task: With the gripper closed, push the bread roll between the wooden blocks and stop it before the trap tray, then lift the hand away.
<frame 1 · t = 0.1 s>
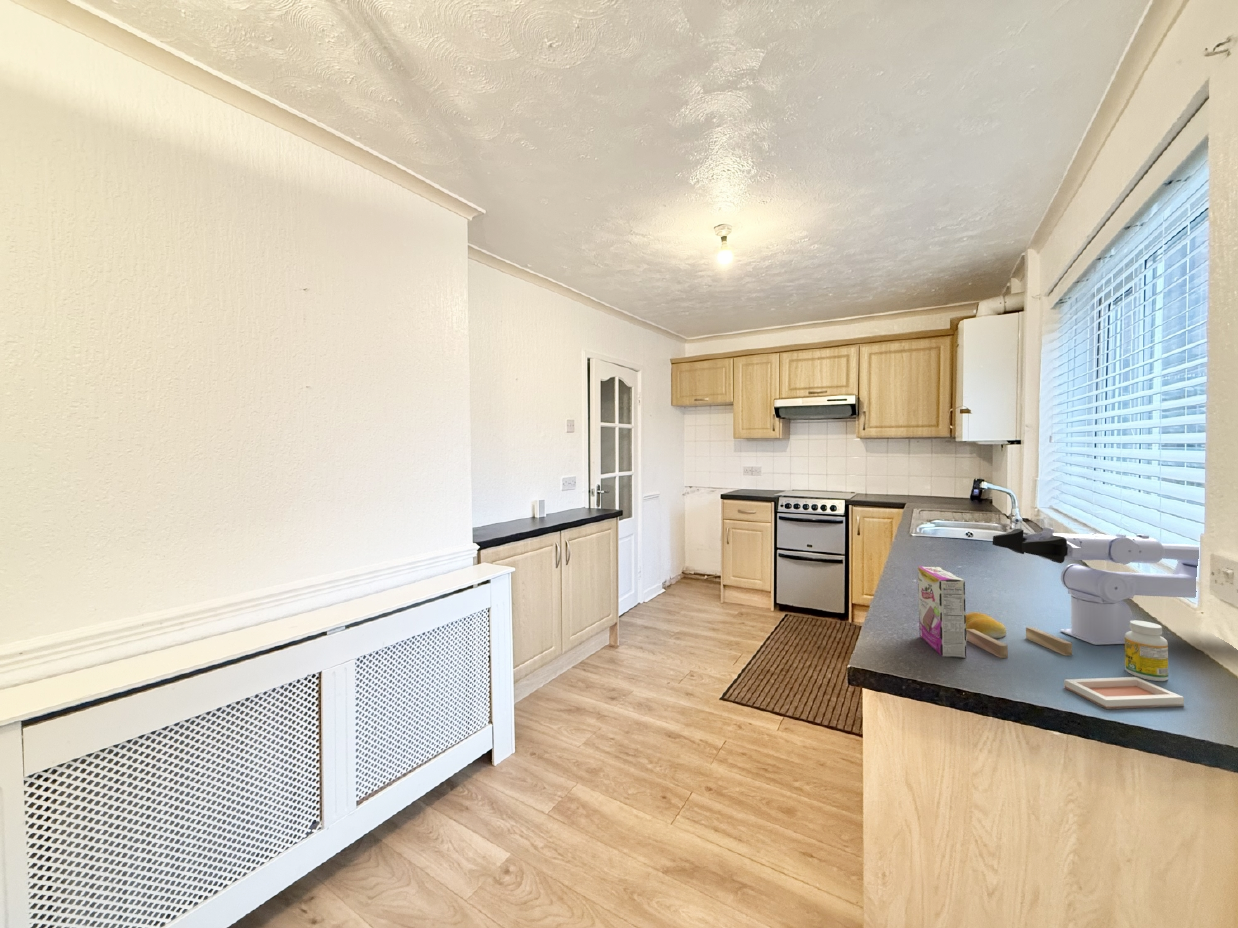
hand: (1008, 543, 104), 22 cm above the counter, tool horizontal, fingers open, 7 cm apart
supplement bottle: (1146, 675, 87), on the counter
trap tray: (1121, 696, 80), on the counter
candy bar box: (941, 648, 102), on the counter
bread roll: (981, 632, 110), on the counter
wooden blocks: (1017, 647, 100), on the counter
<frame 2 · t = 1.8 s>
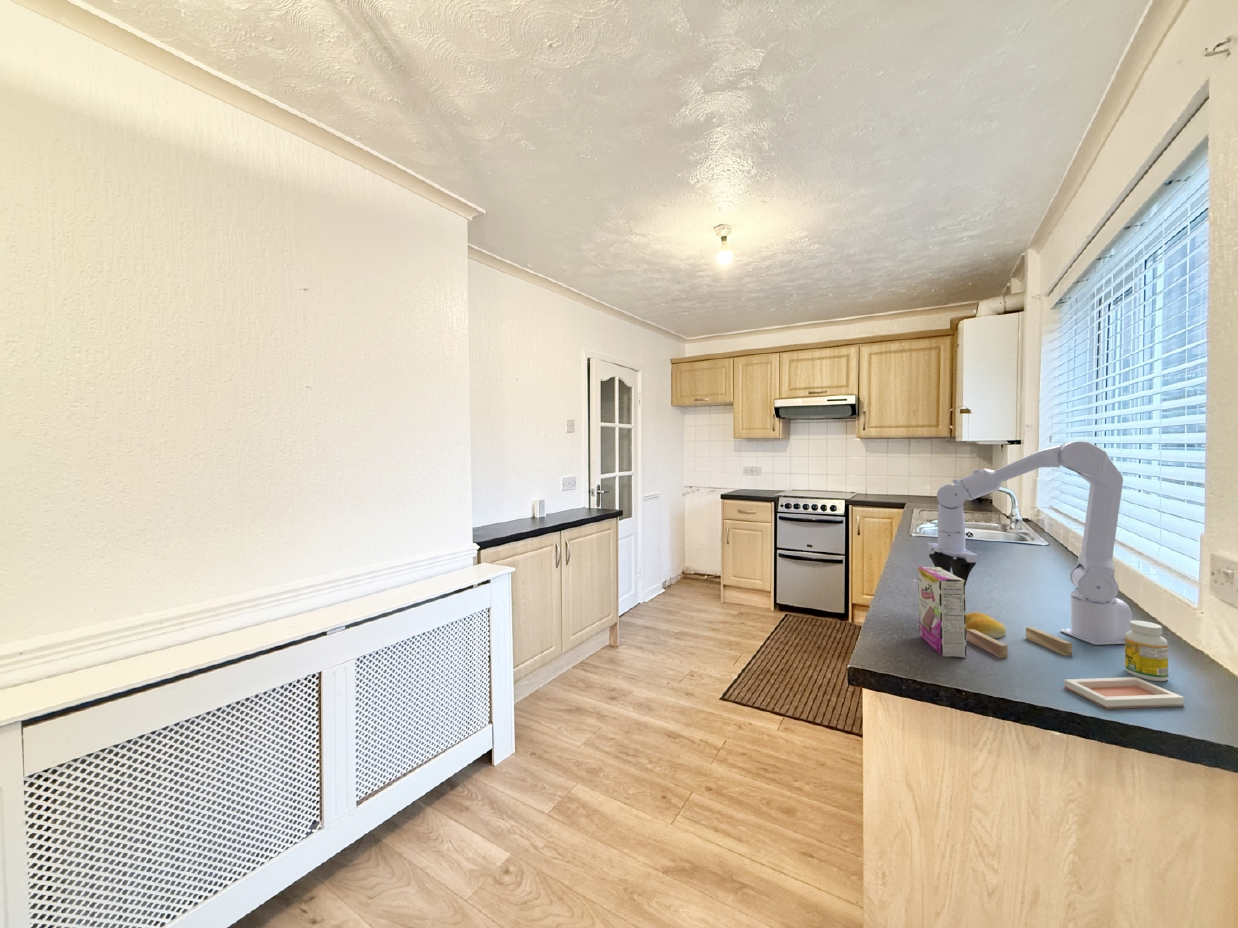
hand: (951, 584, 119), 8 cm above the counter, tool pointing down, fingers open, 5 cm apart
nothing on the counter moved.
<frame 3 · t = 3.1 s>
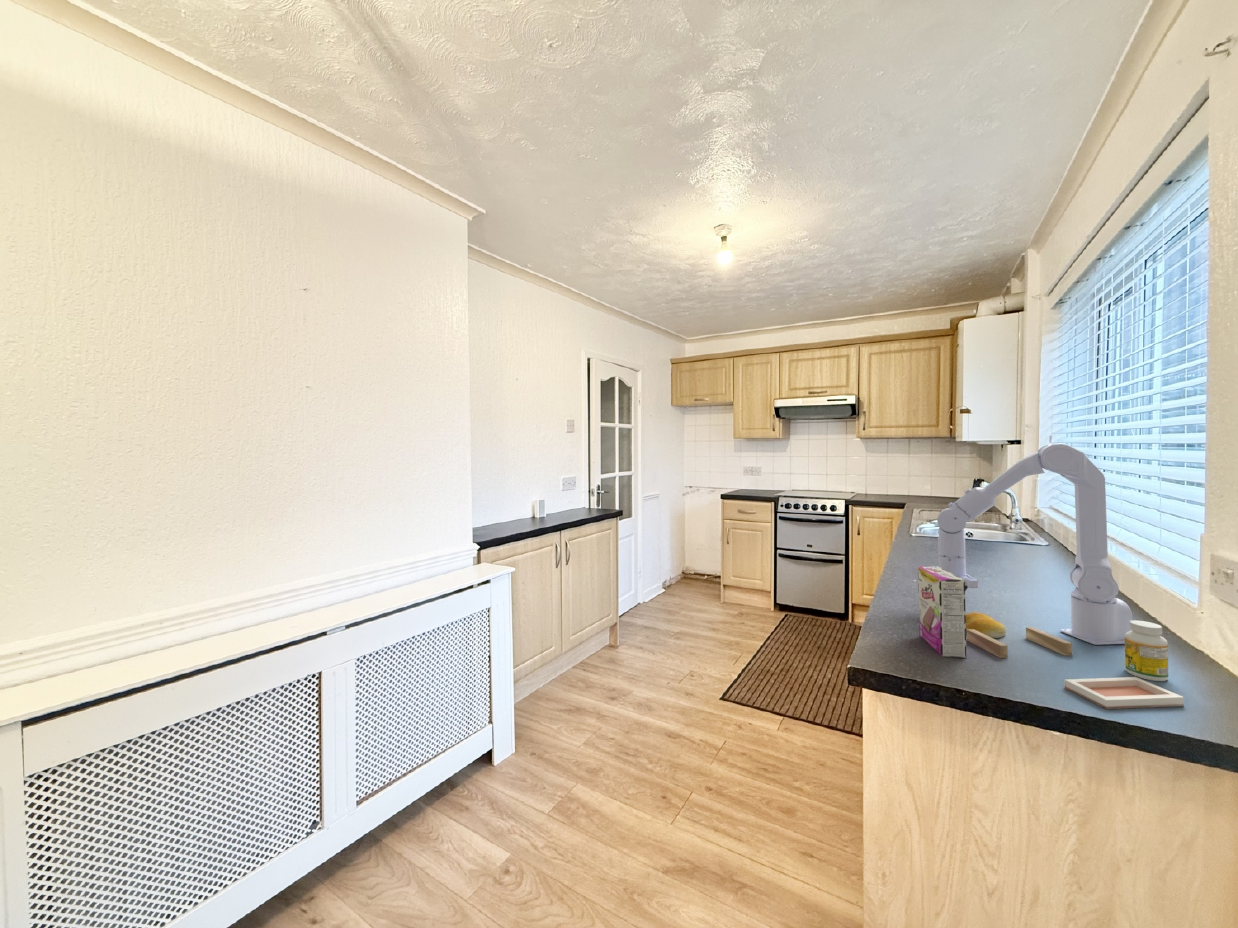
hand: (952, 608, 119), 2 cm above the counter, tool pointing down, fingers closed
nothing on the counter moved.
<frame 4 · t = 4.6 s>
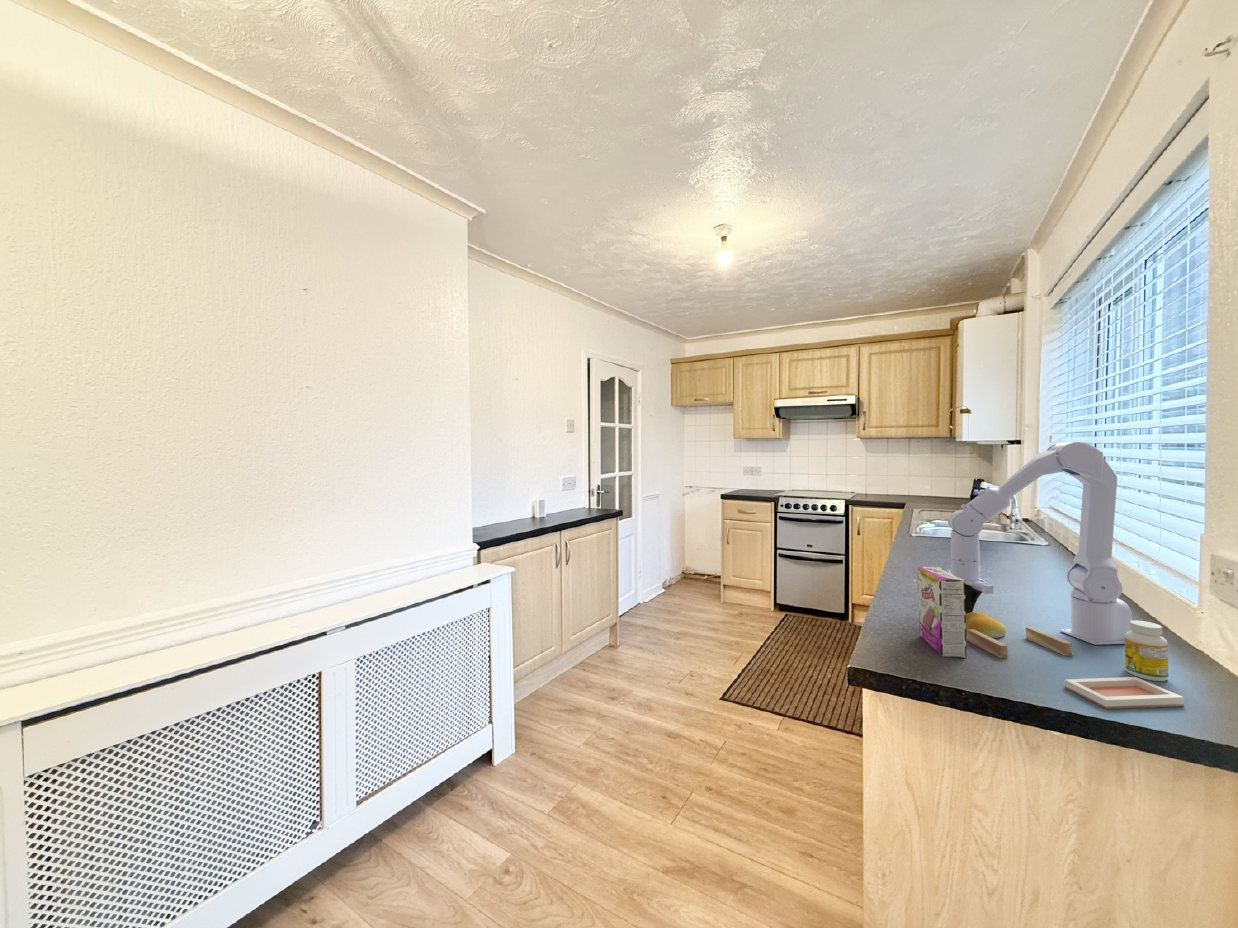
hand: (965, 614, 115), 2 cm above the counter, tool pointing down, fingers closed
bread roll: (981, 632, 110), on the counter, touching gripper
everything else where it was.
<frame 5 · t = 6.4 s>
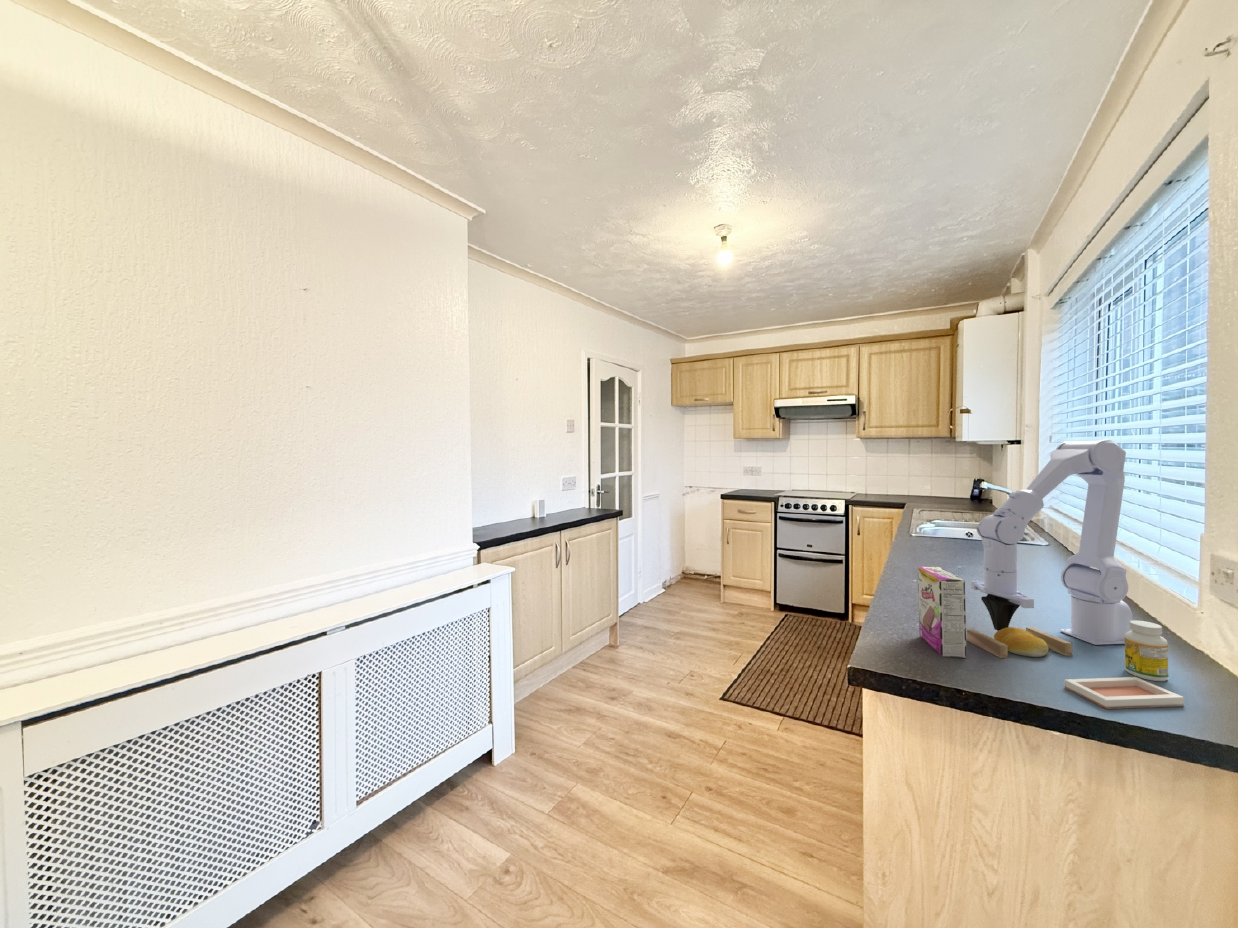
hand: (1000, 630, 105), 2 cm above the counter, tool pointing down, fingers closed
bread roll: (1020, 649, 100), on the counter, touching gripper
everything else where it was.
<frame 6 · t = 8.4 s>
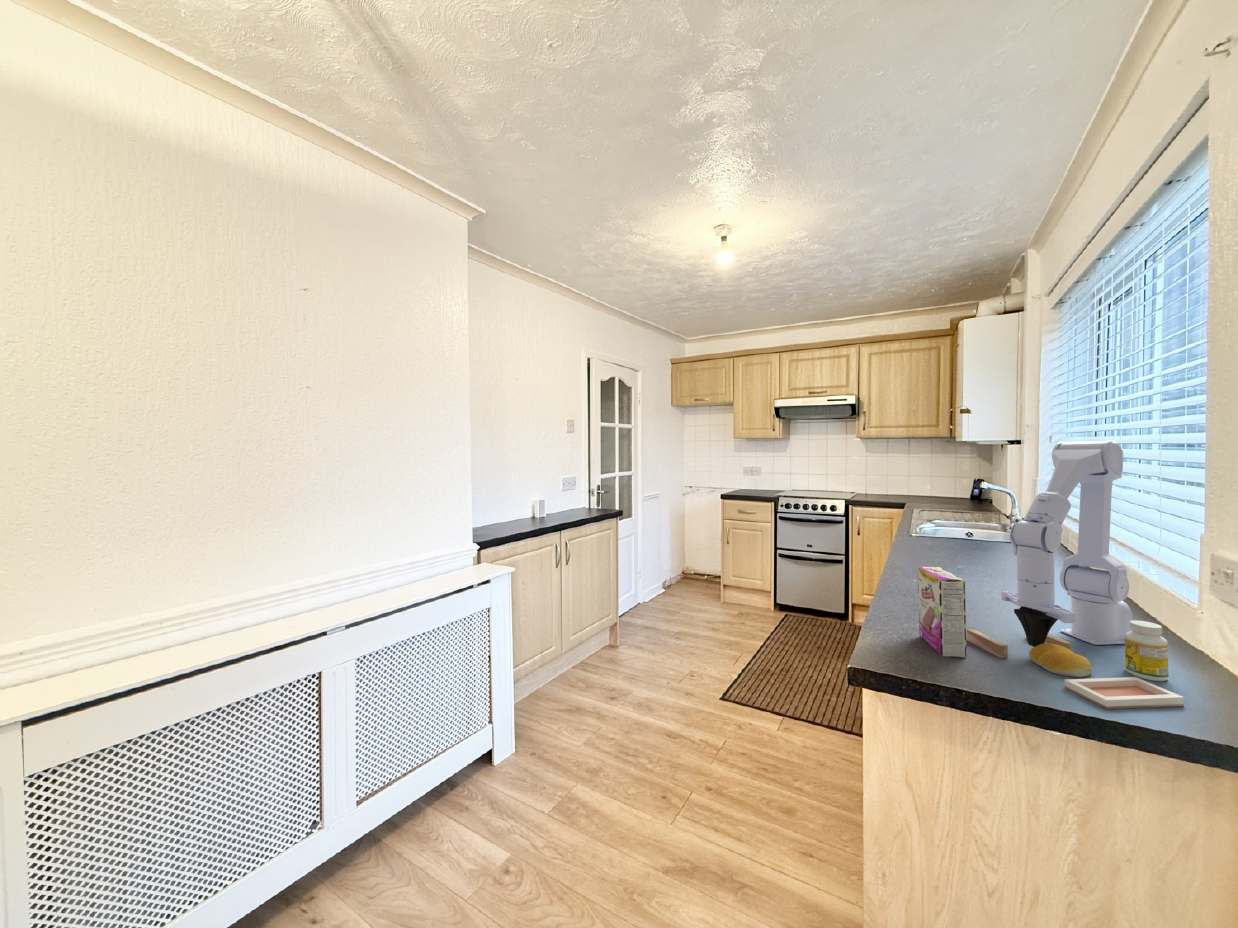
hand: (1036, 645, 96), 2 cm above the counter, tool pointing down, fingers closed
bread roll: (1059, 668, 91), on the counter, touching gripper
everything else where it was.
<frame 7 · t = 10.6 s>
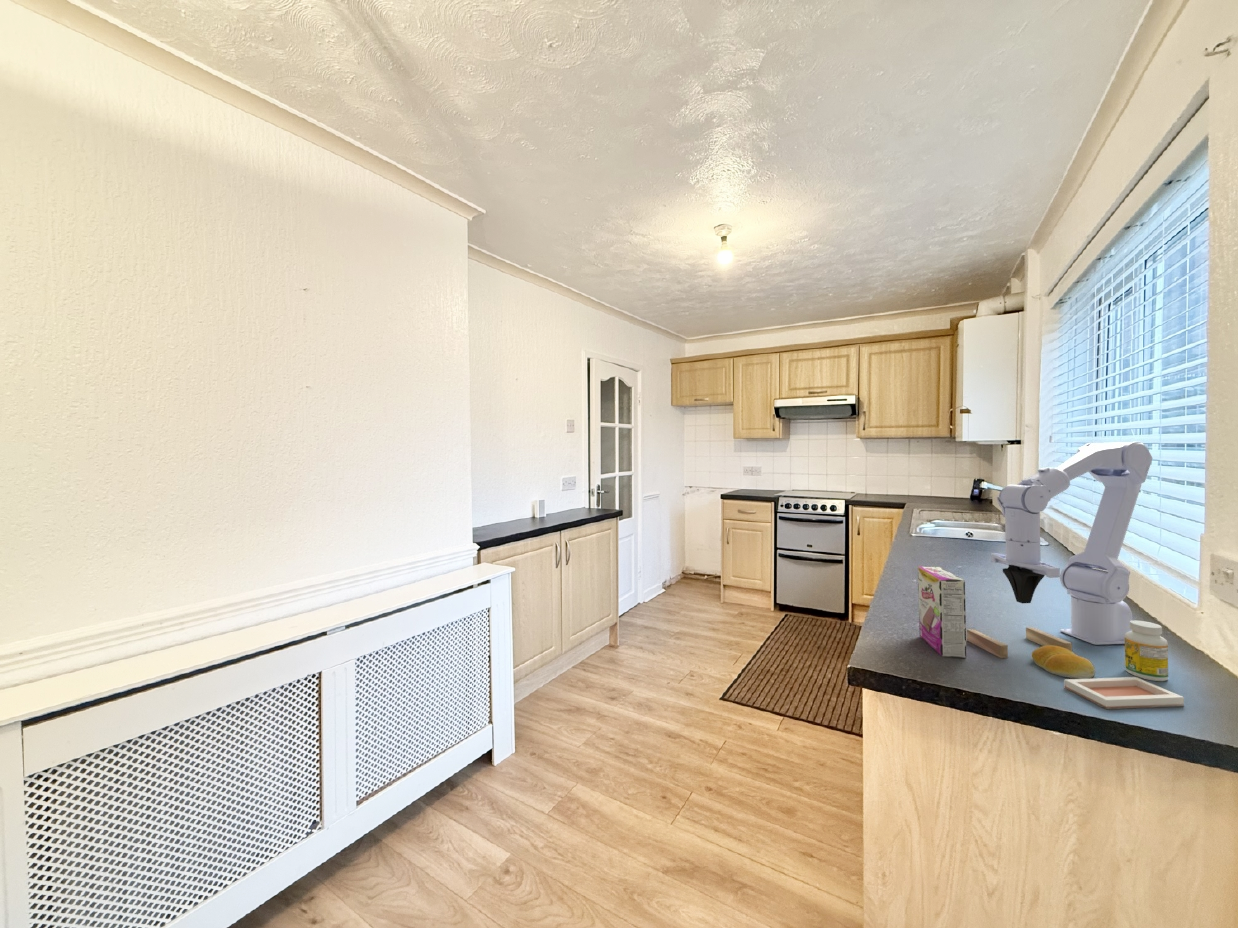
hand: (1023, 602, 102), 9 cm above the counter, tool pointing down, fingers closed
bread roll: (1062, 670, 91), on the counter
everything else where it was.
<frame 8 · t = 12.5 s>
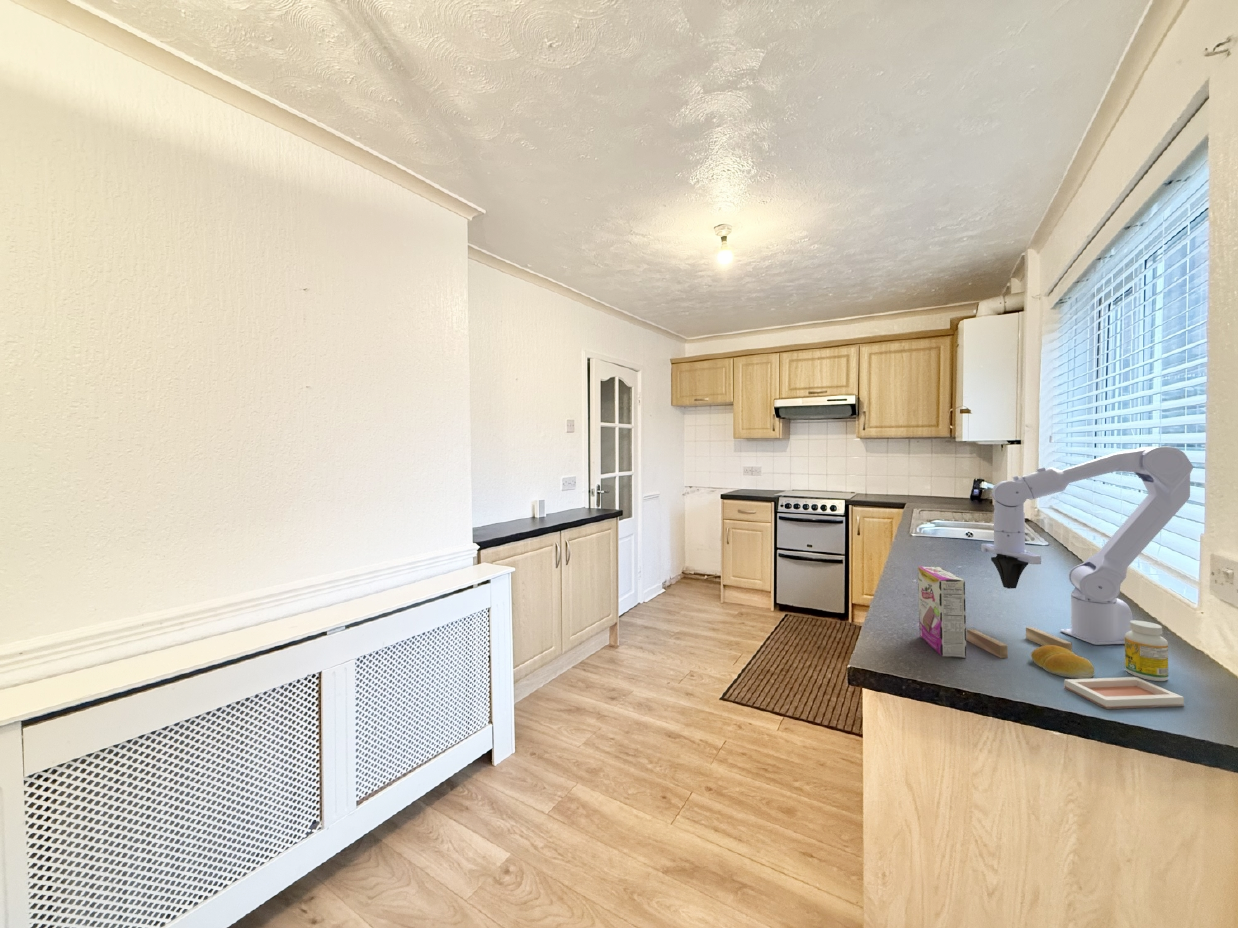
hand: (1009, 587, 112), 9 cm above the counter, tool pointing down, fingers closed
nothing on the counter moved.
at the end: bread roll inside the target area (0.5 cm from its centre), on the counter; bread roll touching counter; bread roll moved 19.3 cm from its start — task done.
